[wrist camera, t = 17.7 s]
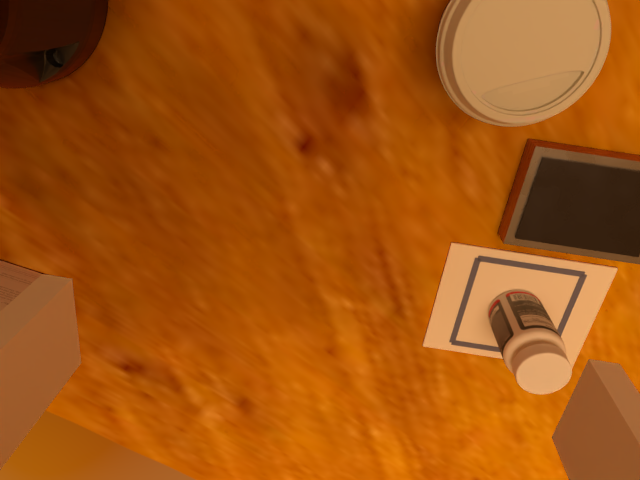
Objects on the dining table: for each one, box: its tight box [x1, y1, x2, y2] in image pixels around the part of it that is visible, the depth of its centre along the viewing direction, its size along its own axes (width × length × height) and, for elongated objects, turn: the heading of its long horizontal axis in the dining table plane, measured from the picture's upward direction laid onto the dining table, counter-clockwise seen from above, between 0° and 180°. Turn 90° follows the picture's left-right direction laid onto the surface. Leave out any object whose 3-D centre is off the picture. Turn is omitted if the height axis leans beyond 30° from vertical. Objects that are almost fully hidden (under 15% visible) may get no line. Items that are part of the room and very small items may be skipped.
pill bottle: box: [488, 290, 572, 394], centre depth 41 cm, size 5×5×8 cm
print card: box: [423, 242, 618, 368], centre depth 45 cm, size 14×11×1 cm
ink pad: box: [498, 139, 640, 264], centre depth 39 cm, size 11×8×2 cm
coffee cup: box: [436, 0, 611, 127], centre depth 30 cm, size 9×9×12 cm
